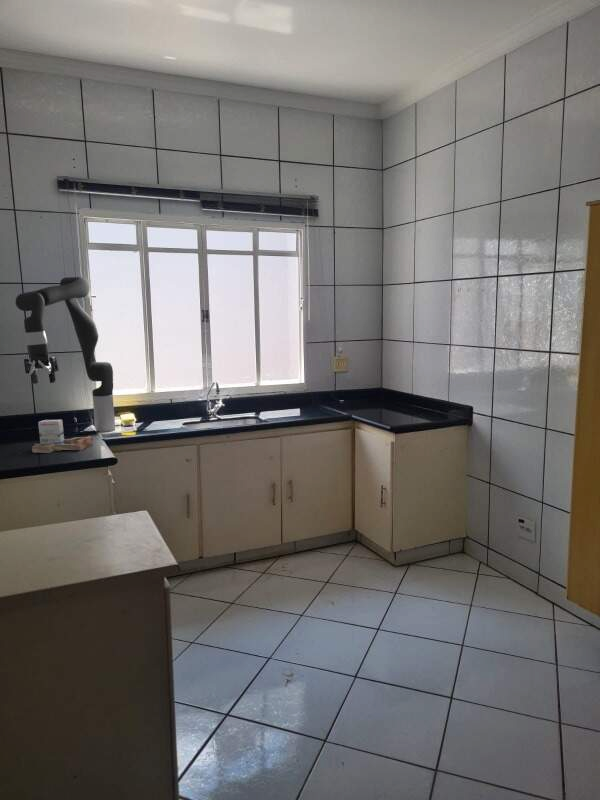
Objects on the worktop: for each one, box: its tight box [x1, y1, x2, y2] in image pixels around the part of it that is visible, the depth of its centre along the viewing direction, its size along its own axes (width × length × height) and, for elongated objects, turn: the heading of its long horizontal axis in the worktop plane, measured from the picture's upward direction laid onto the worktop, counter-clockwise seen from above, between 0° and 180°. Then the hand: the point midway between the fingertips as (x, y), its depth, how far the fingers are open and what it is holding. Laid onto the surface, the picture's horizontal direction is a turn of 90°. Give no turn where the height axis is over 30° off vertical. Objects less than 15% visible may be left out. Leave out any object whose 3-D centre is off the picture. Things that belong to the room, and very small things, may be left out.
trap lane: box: [31, 435, 93, 454], centre depth 241 cm, size 19×20×4 cm
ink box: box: [37, 419, 65, 446], centre depth 241 cm, size 9×5×12 cm, turn 92°
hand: (43, 383), depth 231 cm, fingers open, 8 cm apart
